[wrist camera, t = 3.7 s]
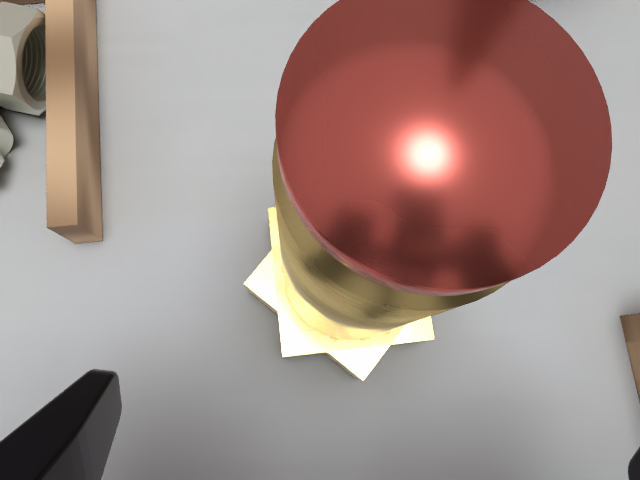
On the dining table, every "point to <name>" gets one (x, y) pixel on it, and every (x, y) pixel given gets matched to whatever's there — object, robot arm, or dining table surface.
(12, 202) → the dining table surface
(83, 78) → the u-shaped wooden frame
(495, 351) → the dining table surface
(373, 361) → the red-topped star-based cylinder
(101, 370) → the robot arm
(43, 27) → the pipe fitting
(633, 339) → the crate
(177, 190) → the dining table surface
